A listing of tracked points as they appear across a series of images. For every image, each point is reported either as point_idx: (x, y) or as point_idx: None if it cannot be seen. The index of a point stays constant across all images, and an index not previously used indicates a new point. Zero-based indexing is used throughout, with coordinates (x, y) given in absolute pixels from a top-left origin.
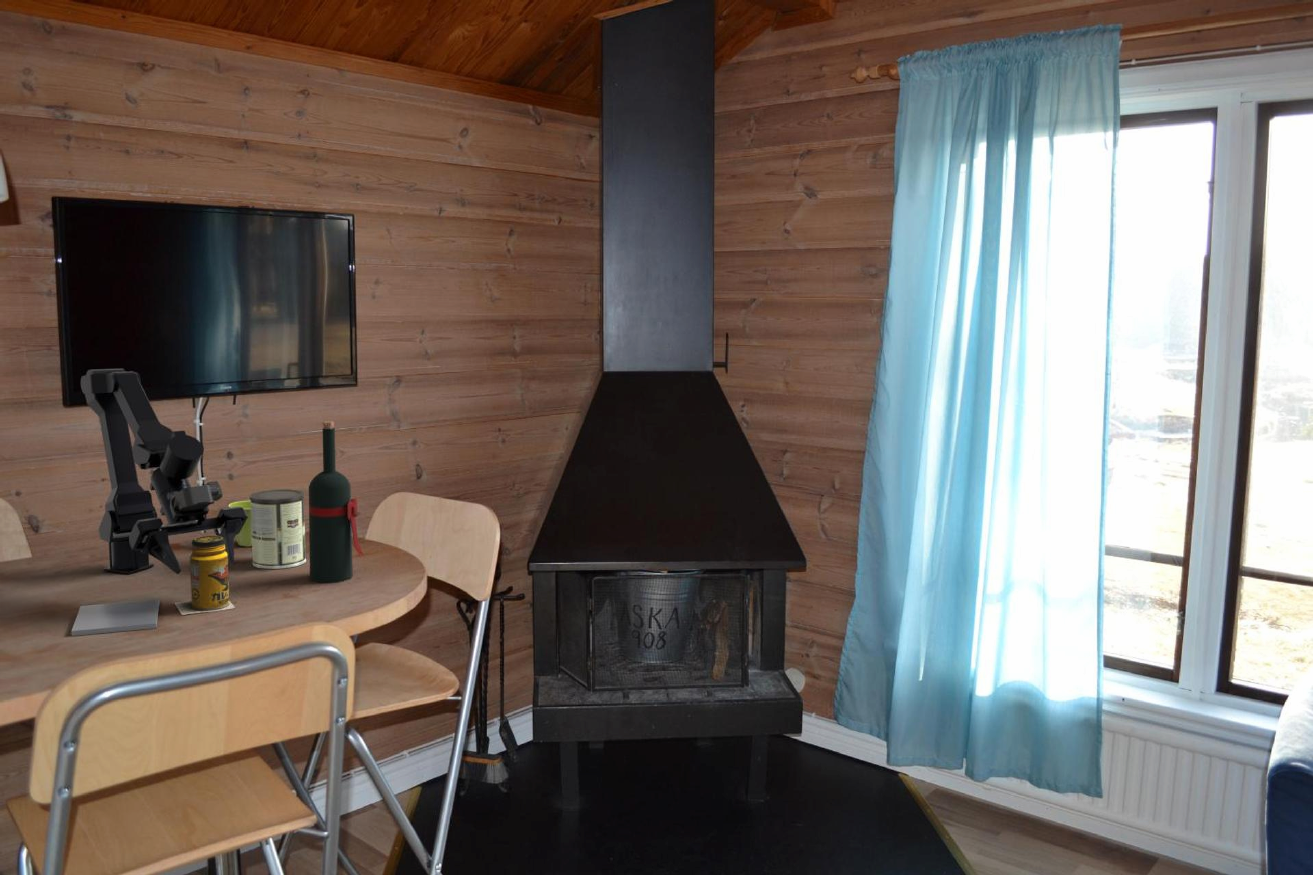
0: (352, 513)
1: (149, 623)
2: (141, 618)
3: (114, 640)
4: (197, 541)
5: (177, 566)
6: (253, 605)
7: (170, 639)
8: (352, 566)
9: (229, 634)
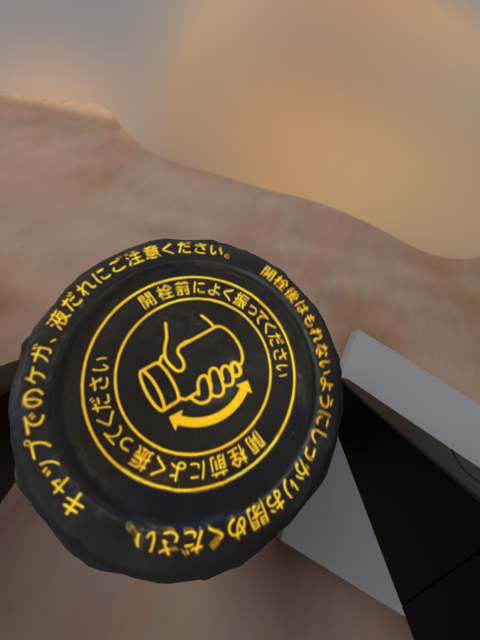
0: None
1: (368, 338)
2: (371, 385)
3: (422, 326)
4: (323, 357)
5: (357, 389)
6: None
7: (352, 259)
8: None
9: (274, 206)
